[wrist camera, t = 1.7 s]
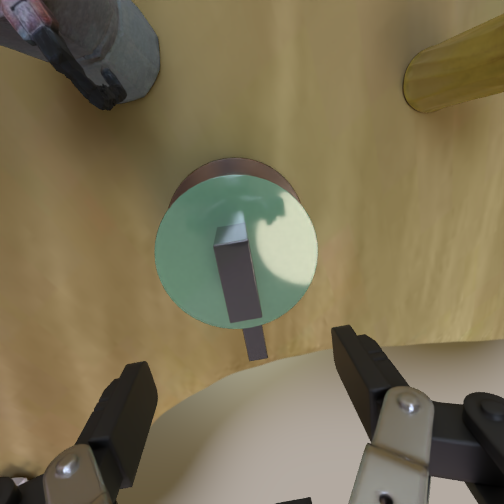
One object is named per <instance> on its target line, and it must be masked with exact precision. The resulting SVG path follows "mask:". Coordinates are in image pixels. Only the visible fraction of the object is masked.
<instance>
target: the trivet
mask: <svg viewBox="0 0 504 504" xmlns="http://www.w3.org/2000/svg"><path fill="white" fill-rule="evenodd" d="M232 172H240V173H247V174H251V175H254V176H257V177H260V178H263V179H266V180H268V181H271V182H273V183H275V184H277V185H279V186H280V187H282V188H283V189H285V190H286V191H288V192H289V193H290V194H291V195H292V196H294V197H295V198H296V199H297V200H298V202H299V203H300V200H299V198H298V196H297V194H296V192H295V191H294V189H293V188H292V186H291V185H290V183H289V182H288V181H287V180H286V179H285V178H284V177H283V176H282V175H281V174H280V173H278V172H277V171H276V170H274V169H272V168H271V167H269V166H267V165H265V164H263V163H261V162H258V161H254V160H251V159H245V158H225V159H220V160H216V161H212V162H210V163H208V164H205V165H203V166H201V167H200V168H198V169H196V170H195V171H194V172H192V173H191V174H190V175H188V176H187V178H186V179H185V180H184V181H183V182H182V183H181V184H180V186H179V187H178V188H177V190H176V192H175V193H174V195H173V197H172V199H171V202H170V205H169V208H170V207H171V205H172V204H173V203H174V202H175V201H176V200H177V199H178V198H179V197H180V196H181V195H182V194H183V193H184V192H186V191H187V190H188V189H190V188H191V187H193V186H195V185H196V184H198V183H200V182H202V181H205V180H207V179H210V178H212V177H214V176H217V175H220V174H224V173H232ZM300 204H301V203H300Z"/></svg>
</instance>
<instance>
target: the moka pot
mask: <svg viewBox="0 0 504 504" xmlns="http://www.w3.org/2000/svg"><path fill="white" fill-rule="evenodd" d="M0 45H1V46H5V47H8V48H11V49H14V50H16V51H19V52H22V53H24V54H27V55H30V56H32V57H35V58H38V59H41V60H44V61H46V62H50V63H51V65H52V66H53V67H54V68H55V69H56V71H58V72H60V73H62V74H64V75H65V76H66V77H67V78H69V79H70V80H71V81H72V83H73V84H74V86H75V87H76V88H77V89H78V90H79V91H80V92H81V93H82V95H83V96H84V97H85V98H86V99H88V100H89V102H90V103H91V104H93V105H95V106H96V107H97V108H99V109H101V110H107V111H108V110H111V109H112V108H113V107H114V106H115V105H116V104H121V103H126V102H129V101H133V100H136V99H139V98H142V97H144V96H145V95H146V94H147V93H148V91H149V90H150V88H151V86H152V85H153V84H154V82H155V80H156V77H157V75H158V72H159V70H160V55H159V43H158V37H157V35H156V33H155V32H154V30H153V28H152V27H151V26H150V24H149V23H148V21H147V20H146V19H145V17H144V16H143V14H142V13H141V11H140V10H139V9H138V7H137V6H136V5H135V4H134V3H133V2H132V1H131V0H0Z"/></svg>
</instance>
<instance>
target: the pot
mask: <svg viewBox="0 0 504 504" xmlns="http://www.w3.org/2000/svg"><path fill="white" fill-rule="evenodd" d="M317 259H318V243H317V237H316V233H315V229H314V226H313V224H312V221H311V219H310V217H309V215H308V214H307V212H306V211H305V209H304V208H303V206H302V205H301V204H300V203H299V202H298V200H297V199H296V198H295V197H294V196H292V195H291V194H290V193H289V192H288V191H286V190H285V189H283V188H282V187H280V186H279V185H277V184H275V183H273V182H271V181H268V180H266V179H263V178H260V177H257V176H254V175H251V174H247V173H240V172H232V173H224V174H220V175H217V176H214V177H212V178H210V179H207V180H205V181H202V182H200V183H198V184H196V185H195V186H193V187H191V188H190V189H188V190H187V191H186V192H184V193H183V194H182V195H181V196H180V197H179V198H178V199H177V200H176V201H175V202H174V203H173V204H172V205H171V207H170V208H169V209H168V211H167V212H166V214H165V216H164V217H163V219H162V221H161V223H160V226H159V229H158V232H157V236H156V241H155V264H156V268H157V272H158V275H159V278H160V281H161V283H162V285H163V287H164V289H165V290H166V292H167V293H168V295H169V296H170V298H171V299H172V300H173V301H174V302H175V303H176V304H177V305H178V307H180V308H181V309H182V310H183V311H184V312H186V313H187V314H189V315H190V316H192V317H193V318H195V319H197V320H199V321H201V322H203V323H206V324H209V325H212V326H216V327H221V328H229V329H243V333H244V338H245V343H246V348H247V353H248V357H249V361H254V360H260V359H265V358H268V355H267V349H266V344H265V338H264V333H263V327H262V325H263V324H265V323H268V322H271V321H273V320H275V319H277V318H279V317H280V316H282V315H283V314H285V313H286V312H288V311H289V310H290V309H291V308H292V307H293V306H295V304H296V303H297V302H298V301H299V300H300V299H301V298H302V296H303V295H304V294H305V292H306V291H307V289H308V287H309V285H310V284H311V281H312V279H313V276H314V274H315V270H316V266H317Z"/></svg>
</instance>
